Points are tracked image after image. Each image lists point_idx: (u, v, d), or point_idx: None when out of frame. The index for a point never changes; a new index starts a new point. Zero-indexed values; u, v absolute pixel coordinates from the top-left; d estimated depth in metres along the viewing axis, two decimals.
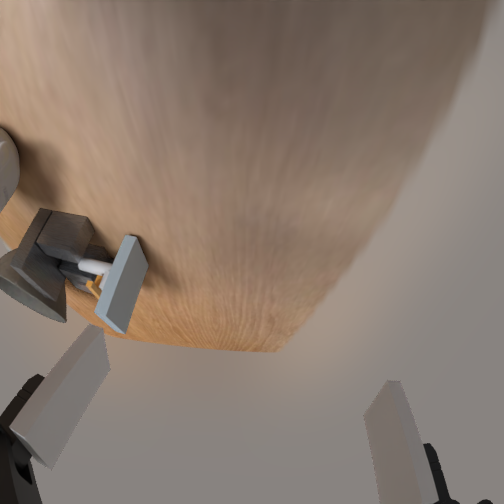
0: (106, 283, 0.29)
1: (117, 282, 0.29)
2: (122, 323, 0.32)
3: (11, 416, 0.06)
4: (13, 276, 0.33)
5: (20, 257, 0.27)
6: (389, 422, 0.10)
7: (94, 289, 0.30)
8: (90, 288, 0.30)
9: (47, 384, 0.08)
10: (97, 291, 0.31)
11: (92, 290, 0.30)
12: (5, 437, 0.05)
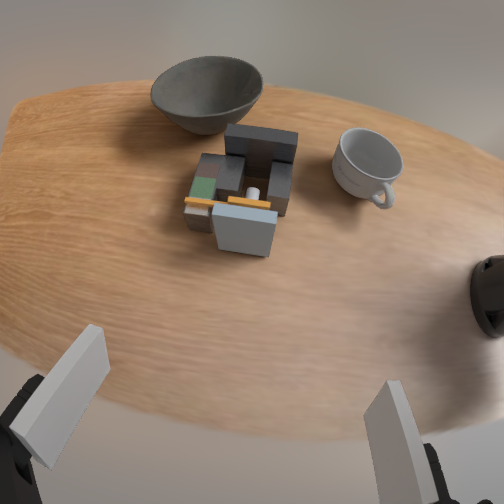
0: None
1: (272, 238, 0.35)
2: (230, 220, 0.32)
3: (11, 416, 0.06)
4: (254, 103, 0.41)
5: None
6: (389, 422, 0.10)
7: (261, 206, 0.35)
8: (265, 204, 0.35)
9: (47, 384, 0.08)
10: (254, 206, 0.35)
11: (261, 204, 0.35)
12: (5, 437, 0.05)
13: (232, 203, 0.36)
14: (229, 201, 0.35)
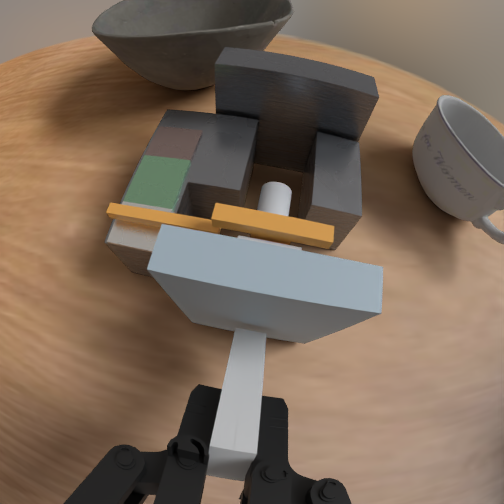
0: None
1: (338, 329, 0.12)
2: (215, 291, 0.09)
3: (190, 435, 0.08)
4: (278, 28, 0.18)
5: None
6: None
7: (309, 239, 0.12)
8: (320, 232, 0.12)
9: (229, 391, 0.10)
10: (289, 236, 0.12)
11: (308, 231, 0.12)
12: (205, 469, 0.07)
13: (225, 225, 0.12)
14: (217, 220, 0.12)
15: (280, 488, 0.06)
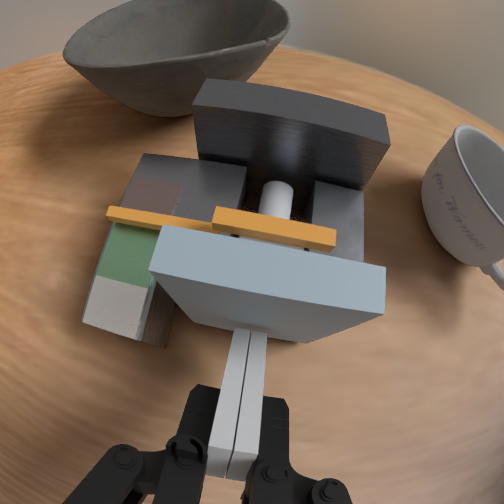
0: None
1: (340, 329, 0.12)
2: (217, 292, 0.09)
3: (189, 434, 0.08)
4: (272, 47, 0.16)
5: None
6: (244, 370, 0.12)
7: (311, 242, 0.12)
8: (322, 236, 0.12)
9: (228, 391, 0.10)
10: (291, 240, 0.12)
11: (310, 234, 0.12)
12: (204, 468, 0.07)
13: (226, 228, 0.12)
14: (218, 223, 0.12)
15: (281, 488, 0.06)
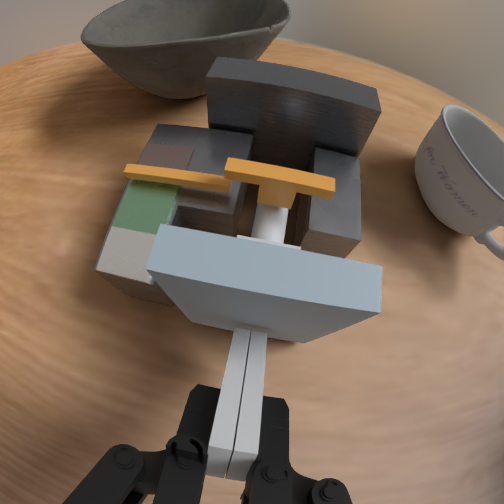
0: None
1: (337, 329, 0.12)
2: (214, 291, 0.09)
3: (189, 434, 0.08)
4: (274, 34, 0.17)
5: None
6: (244, 370, 0.12)
7: (313, 188, 0.13)
8: (323, 183, 0.13)
9: (228, 391, 0.10)
10: (295, 186, 0.13)
11: (312, 181, 0.13)
12: (204, 468, 0.07)
13: (237, 176, 0.13)
14: (230, 171, 0.13)
15: (281, 488, 0.06)
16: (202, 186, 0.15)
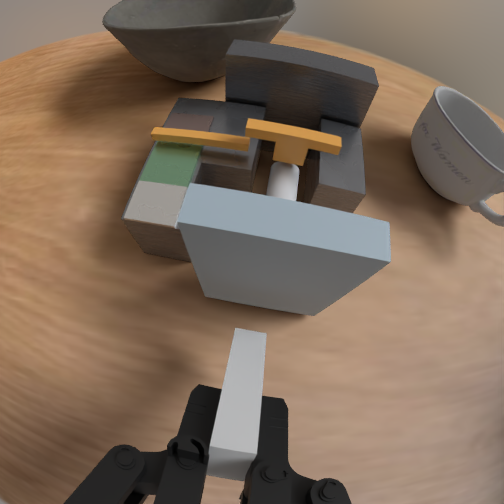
0: None
1: (349, 291, 0.12)
2: (239, 243, 0.10)
3: (190, 434, 0.08)
4: (282, 23, 0.19)
5: None
6: None
7: (323, 144, 0.15)
8: (331, 140, 0.15)
9: (229, 391, 0.10)
10: (307, 142, 0.15)
11: (321, 138, 0.14)
12: (205, 469, 0.07)
13: (256, 133, 0.15)
14: (250, 128, 0.14)
15: (280, 488, 0.06)
16: (224, 145, 0.16)
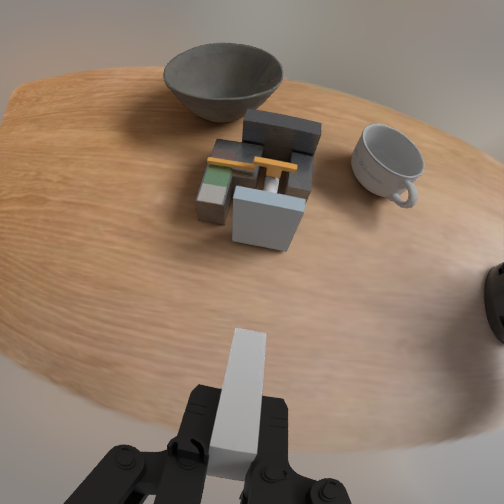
0: None
1: (296, 229, 0.32)
2: (253, 206, 0.29)
3: (190, 435, 0.08)
4: None
5: None
6: None
7: (288, 168, 0.34)
8: (292, 166, 0.34)
9: (229, 391, 0.10)
10: (281, 167, 0.34)
11: (287, 165, 0.34)
12: (205, 469, 0.07)
13: (258, 163, 0.34)
14: (256, 161, 0.34)
15: (280, 488, 0.06)
16: (243, 168, 0.35)
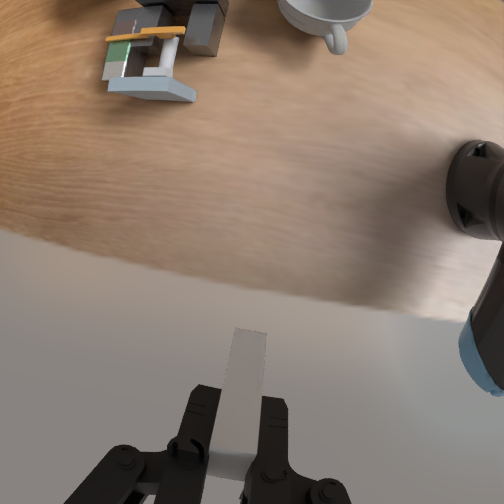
0: (181, 84, 0.26)
1: (180, 95, 0.27)
2: (127, 91, 0.25)
3: (190, 435, 0.08)
4: None
5: None
6: None
7: (174, 32, 0.24)
8: (178, 29, 0.23)
9: (229, 391, 0.10)
10: (167, 33, 0.24)
11: (173, 30, 0.23)
12: (205, 469, 0.07)
13: (145, 34, 0.24)
14: (142, 34, 0.24)
15: (280, 488, 0.06)
16: (137, 38, 0.25)
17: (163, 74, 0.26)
